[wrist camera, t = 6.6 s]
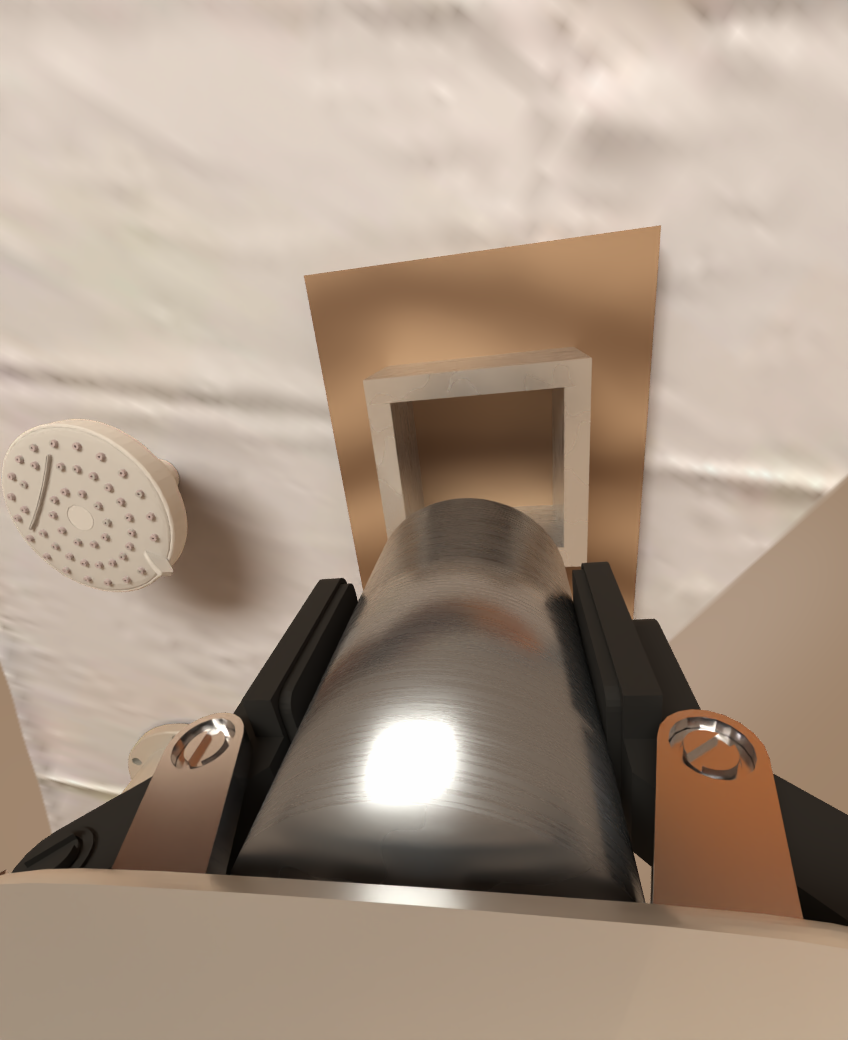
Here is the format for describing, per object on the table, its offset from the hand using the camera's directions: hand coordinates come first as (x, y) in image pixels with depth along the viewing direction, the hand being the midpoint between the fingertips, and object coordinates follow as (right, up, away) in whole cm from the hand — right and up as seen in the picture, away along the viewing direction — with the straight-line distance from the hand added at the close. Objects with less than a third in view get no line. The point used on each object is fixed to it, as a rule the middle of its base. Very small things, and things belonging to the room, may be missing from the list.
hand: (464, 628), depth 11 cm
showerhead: (-17, +5, +20) cm, 27 cm away
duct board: (+3, +6, +16) cm, 17 cm away
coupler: (0, +1, +2) cm, 2 cm away
